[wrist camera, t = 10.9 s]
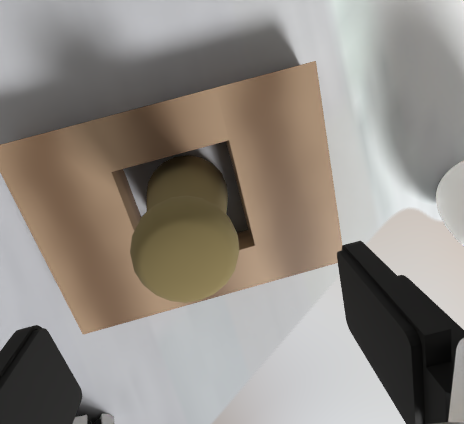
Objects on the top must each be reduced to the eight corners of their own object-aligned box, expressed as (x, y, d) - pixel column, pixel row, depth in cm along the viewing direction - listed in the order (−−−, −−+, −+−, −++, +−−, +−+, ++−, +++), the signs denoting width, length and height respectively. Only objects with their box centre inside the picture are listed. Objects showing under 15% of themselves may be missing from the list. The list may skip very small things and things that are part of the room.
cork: (178, 246, 26) (170, 345, 16) (129, 185, 24) (82, 252, 14) (243, 204, 26) (277, 278, 15) (197, 138, 24) (202, 171, 13)
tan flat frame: (300, 65, 23) (315, 61, 20) (328, 243, 28) (344, 260, 25) (13, 141, 22) (-13, 147, 19) (94, 309, 27) (82, 334, 24)
